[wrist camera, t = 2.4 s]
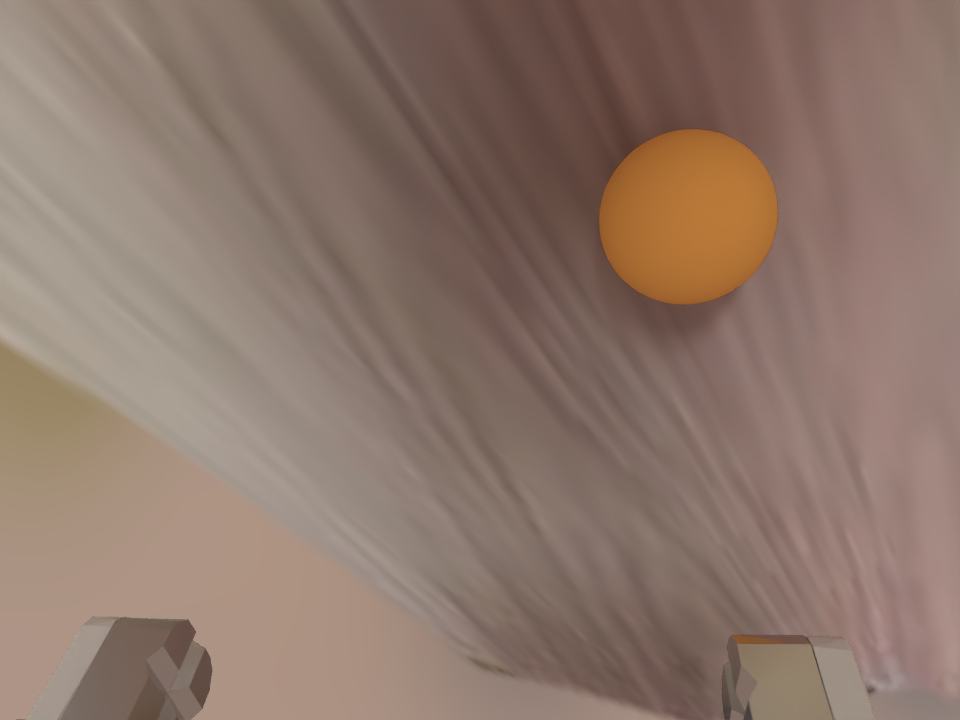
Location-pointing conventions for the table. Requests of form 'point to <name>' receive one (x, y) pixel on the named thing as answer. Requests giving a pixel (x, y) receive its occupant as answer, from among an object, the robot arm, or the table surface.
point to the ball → (688, 216)
